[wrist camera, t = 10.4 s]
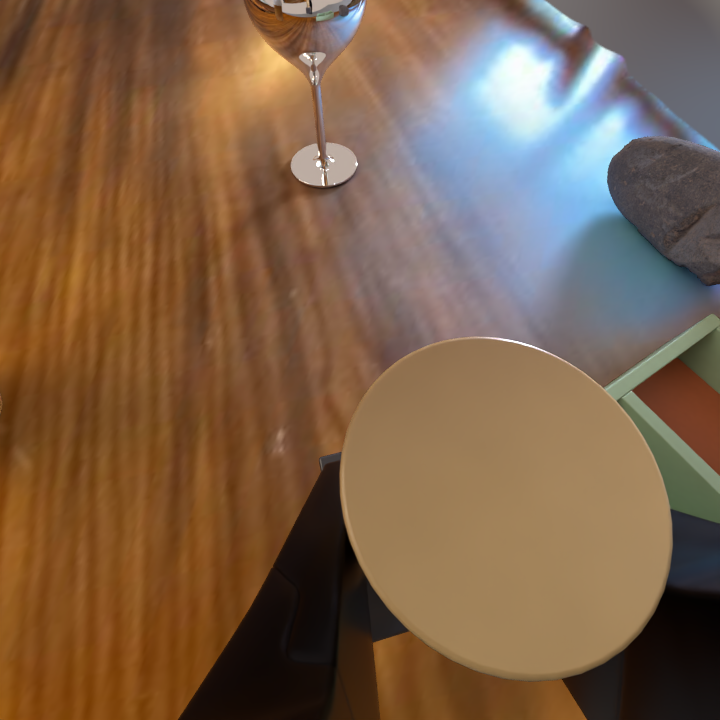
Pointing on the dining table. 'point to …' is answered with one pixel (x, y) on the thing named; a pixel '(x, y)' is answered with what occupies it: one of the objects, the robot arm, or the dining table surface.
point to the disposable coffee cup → (0, 403)
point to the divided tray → (680, 415)
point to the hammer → (504, 510)
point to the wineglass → (312, 69)
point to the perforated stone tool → (672, 199)
